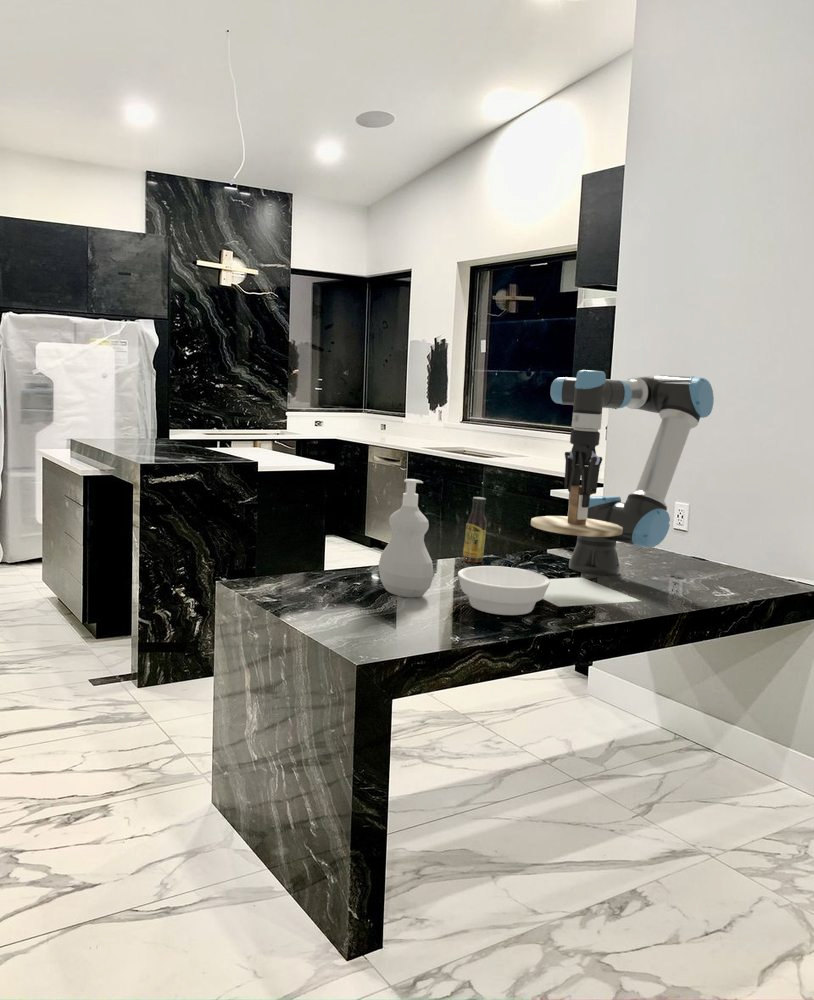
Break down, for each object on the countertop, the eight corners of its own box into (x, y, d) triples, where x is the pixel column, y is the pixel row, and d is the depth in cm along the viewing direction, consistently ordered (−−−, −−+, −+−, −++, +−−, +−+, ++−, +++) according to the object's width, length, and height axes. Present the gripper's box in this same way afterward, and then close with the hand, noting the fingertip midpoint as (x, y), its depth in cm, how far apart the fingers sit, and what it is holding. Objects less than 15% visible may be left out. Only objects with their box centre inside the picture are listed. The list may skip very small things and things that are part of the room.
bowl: (484, 592, 227) (487, 561, 226) (562, 610, 214) (565, 577, 213) (437, 608, 209) (440, 574, 208) (520, 628, 196) (523, 592, 195)
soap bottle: (443, 598, 218) (451, 483, 213) (408, 604, 210) (416, 485, 206) (399, 583, 230) (406, 474, 226) (365, 588, 222) (372, 476, 218)
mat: (581, 579, 250) (581, 577, 249) (641, 603, 226) (641, 600, 226) (504, 583, 239) (504, 581, 238) (558, 608, 215) (559, 606, 215)
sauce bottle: (458, 560, 265) (463, 496, 262) (471, 558, 269) (475, 495, 266) (475, 564, 260) (480, 499, 257) (487, 562, 265) (492, 498, 262)
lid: (585, 519, 245) (589, 480, 244) (641, 536, 224) (646, 493, 222) (513, 520, 235) (517, 479, 234) (565, 537, 214) (569, 493, 212)
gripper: (555, 426, 232) (547, 512, 235) (593, 432, 217) (584, 523, 220) (578, 427, 235) (570, 512, 238) (617, 433, 220) (608, 523, 223)
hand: (577, 517), depth 229 cm, fingers closed on lid, 3 cm apart
